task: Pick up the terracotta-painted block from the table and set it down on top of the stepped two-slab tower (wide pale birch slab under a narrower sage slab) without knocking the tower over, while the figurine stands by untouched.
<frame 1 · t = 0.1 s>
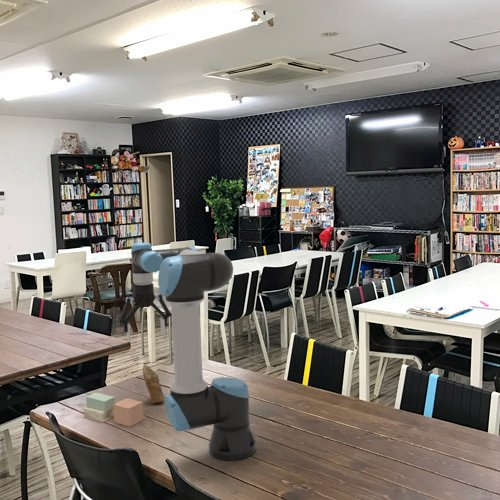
hand: (146, 337, 222), 28 cm above the table, fingers open, 13 cm apart
figurine: (155, 401, 231), on the table
terracotta block: (129, 421, 212), on the table
block top: (100, 407, 217), point 4 cm above the table
block base: (101, 417, 218), on the table
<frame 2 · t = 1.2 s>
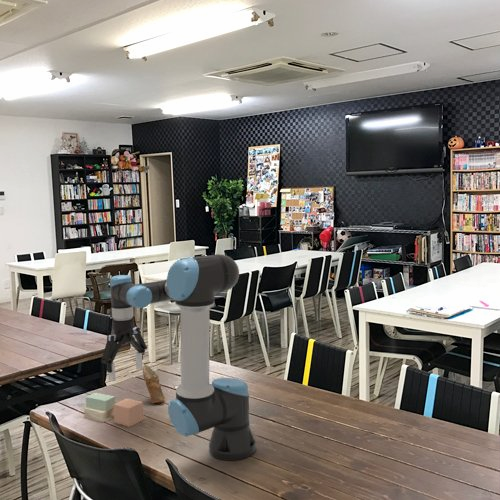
hand: (126, 375, 210), 17 cm above the table, fingers open, 13 cm apart
nothing on the table moved.
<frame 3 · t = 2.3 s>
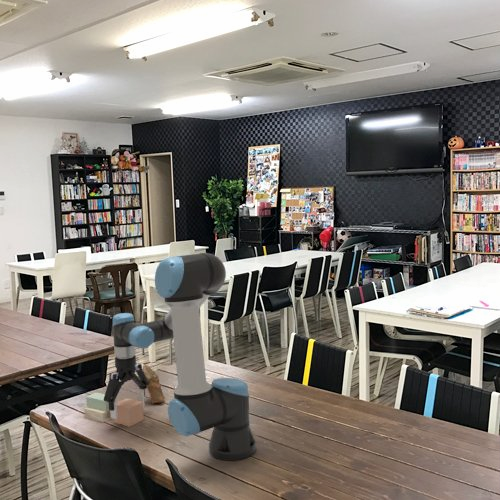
hand: (128, 411, 212), 3 cm above the table, fingers open, 13 cm apart
block top: (101, 406, 218), point 4 cm above the table, touching block base
block base: (102, 417, 218), on the table, touching block top
everything else where it was.
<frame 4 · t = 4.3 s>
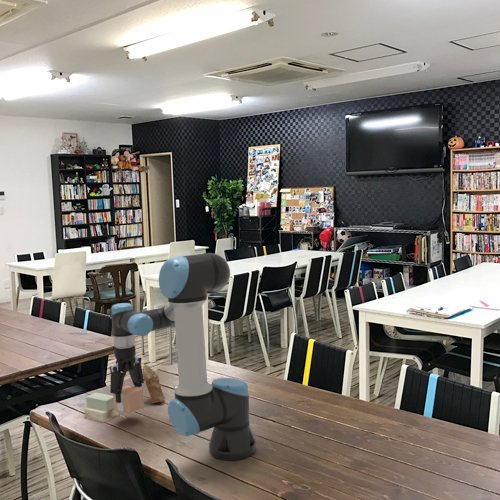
hand: (129, 407, 211), 6 cm above the table, fingers closed on terracotta block, 7 cm apart
terracotta block: (129, 408, 211), point 5 cm above the table, touching gripper
block top: (101, 406, 218), point 4 cm above the table
block base: (102, 417, 218), on the table
everything else where it was.
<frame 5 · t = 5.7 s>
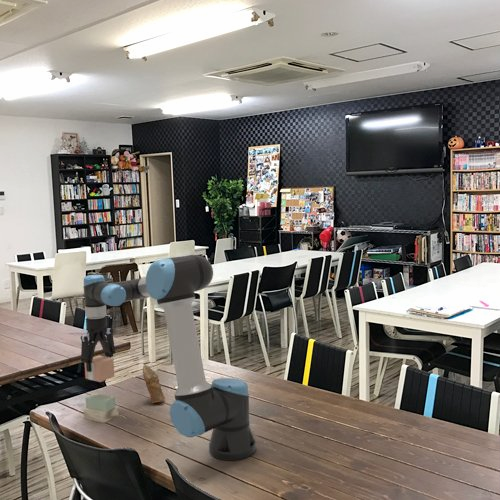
hand: (99, 376, 216), 15 cm above the table, fingers closed on terracotta block, 7 cm apart
terracotta block: (100, 377, 216), point 15 cm above the table, touching gripper
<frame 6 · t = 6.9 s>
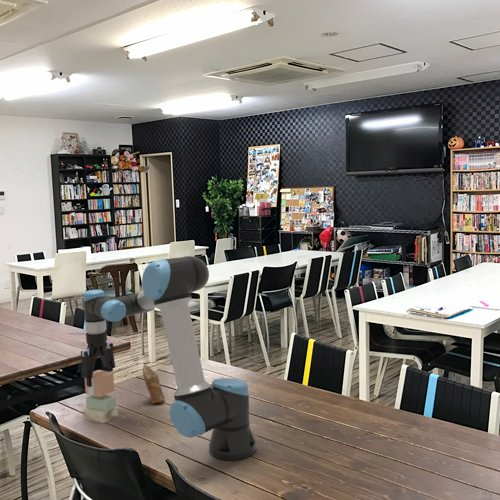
hand: (99, 390, 217), 10 cm above the table, fingers closed on terracotta block, 7 cm apart
terracotta block: (100, 392, 217), point 9 cm above the table, touching gripper
block top: (101, 407, 217), point 4 cm above the table, touching block base
block base: (101, 417, 217), on the table, touching block top
everything else where it was.
when the fingers open (8 cm above the table, at t = 7.6 s): terracotta block stays where it is, point 8 cm above the table.
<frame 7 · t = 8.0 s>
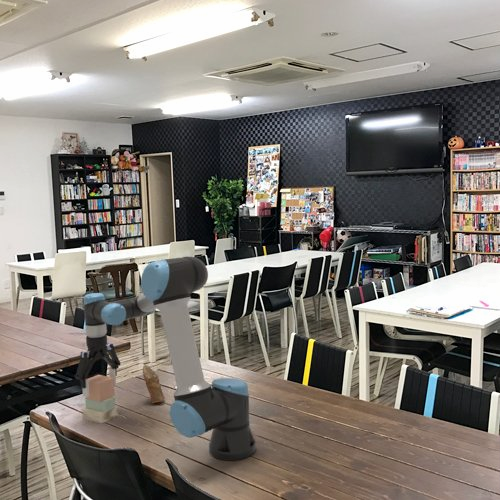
hand: (100, 390, 217), 10 cm above the table, fingers open, 12 cm apart
terracotta block: (100, 397, 217), point 8 cm above the table
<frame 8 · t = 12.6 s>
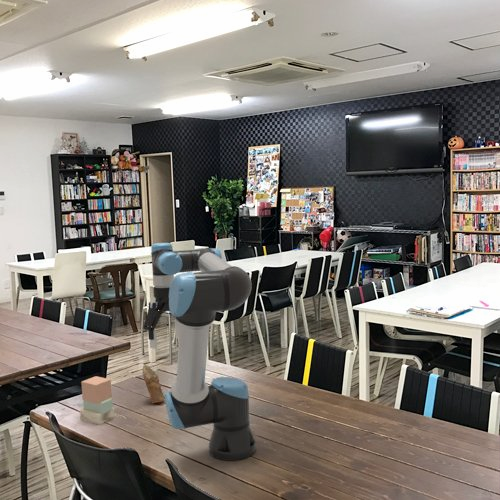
hand: (166, 343, 210), 29 cm above the table, fingers open, 13 cm apart
terracotta block: (97, 398, 215), point 8 cm above the table, touching block top
block top: (98, 409, 215), point 4 cm above the table, touching block base, terracotta block
block base: (98, 419, 216), on the table, touching block top
everything else where it was.
at the end: terracotta block 0.3 cm from the block top (horizontally); terracotta block point 7.6 cm above the table; block top tilted 0° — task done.
